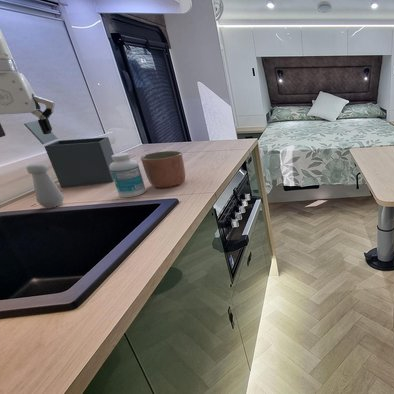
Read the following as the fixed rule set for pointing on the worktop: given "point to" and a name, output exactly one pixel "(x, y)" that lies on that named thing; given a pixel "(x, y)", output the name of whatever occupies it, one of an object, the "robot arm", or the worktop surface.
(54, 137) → the flap
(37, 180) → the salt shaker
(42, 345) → the worktop surface
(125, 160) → the pill bottle
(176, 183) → the planter
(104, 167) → the carton
